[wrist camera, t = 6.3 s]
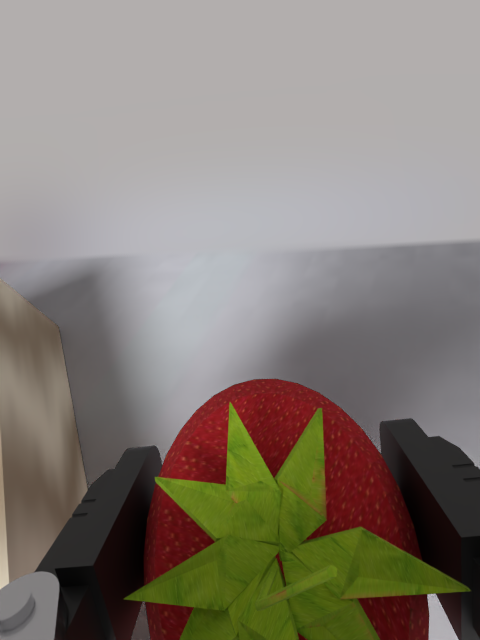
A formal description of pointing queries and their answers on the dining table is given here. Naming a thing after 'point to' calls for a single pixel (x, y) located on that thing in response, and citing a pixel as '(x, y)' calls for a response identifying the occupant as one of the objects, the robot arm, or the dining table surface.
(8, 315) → the birch stand
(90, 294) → the dining table surface
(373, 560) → the strawberry
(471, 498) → the robot arm
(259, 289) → the dining table surface
